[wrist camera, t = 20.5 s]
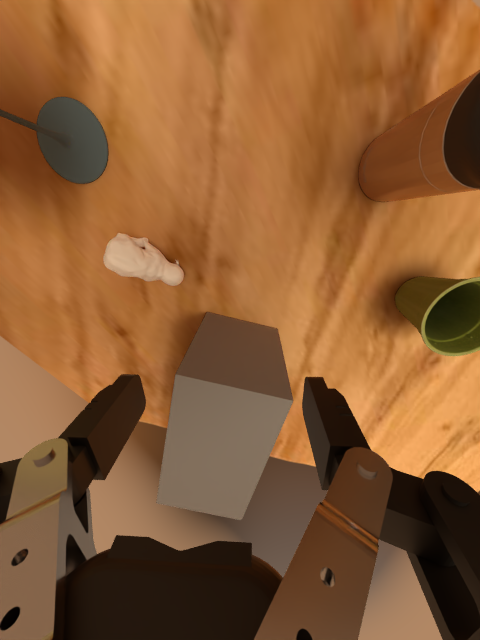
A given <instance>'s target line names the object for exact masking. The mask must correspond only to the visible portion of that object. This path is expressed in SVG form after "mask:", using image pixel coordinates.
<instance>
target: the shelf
mask: <svg viewBox="0 0 480 640" xmlns="http://www.w3.org/2000/svg"><path fill="white" fill-rule="evenodd" d="M292 403H293V397H292V393H291V388H290V383H289V379H288V374H287V370H286V365H285V360H284V356H283V351H282V346H281V342H280V337H279V333H278V329H276V328H272V327H268V326H264V325H260V324H256V323H251V322H247V321H243V320H239V319H235V318H231V317H226V316H222V315H218V314H214V313H210V312H207V313H206V315H205V317H204V319H203V321H202V323H201V325H200V327H199V329H198V331H197V333H196V335H195V337H194V339H193V341H192V342H191V344H190V346H189V348H188V350H187V352H186V354H185V356H184V358H183V360H182V362H181V364H180V366H179V368H178V370H177V372H176V374H175V381H174V388H173V394H172V401H171V408H170V415H169V421H168V428H167V435H166V441H165V448H164V456H163V462H162V469H161V475H160V482H159V488H158V495H157V502H156V503H158V504H163V505H168V506H173V507H178V508H184V509H188V510H193V511H198V512H203V513H208V514H213V515H218V516H223V517H228V518H233V519H238V520H242V517H243V515H244V513H245V511H246V508H247V506H248V504H249V501H250V499H251V497H252V495H253V492H254V490H255V487H256V485H257V483H258V481H259V479H260V476H261V474H262V472H263V469H264V467H265V465H266V462H267V460H268V458H269V456H270V453H271V451H272V449H273V446H274V444H275V442H276V439H277V437H278V435H279V433H280V430H281V428H282V426H283V423H284V421H285V419H286V417H287V414H288V412H289V410H290V407H291V405H292Z"/></svg>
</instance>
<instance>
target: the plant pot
mask: <svg viewBox="0 0 480 640" xmlns="http://www.w3.org/2000/svg"><path fill="white" fill-rule="evenodd" d="M395 303H396V307H397V309H398V310H399V311H400V312H401V313H402V314H403V315H404V316H405V317H406V318H407V319H408V320H409V321H410V322H411V323H412V324H413V325H414V326H415V327H416V328H417V329H418V331H419V333H420V334H421V336H422V339H423V341H424V343H425V344H426V345H427V347H428V348H429V349H431V350H432V351H434V352H436V353H438V354H441V355H445V356H462V355H467V354H470V353H474V352H476V351H479V350H480V277H475V278H470V279H446V278H434V277H416V278H413V279H411V280H408V281H406V282H405V283H404V284H403V285H402V286H401V287H400V288H399V289H398V291H397V293H396V296H395Z"/></svg>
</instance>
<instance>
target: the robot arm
mask: <svg viewBox="0 0 480 640" xmlns="http://www.w3.org/2000/svg"><path fill="white" fill-rule="evenodd" d="M358 177H359V184H360V186H361V189H362V191H363V192H364V193H365V195H366V196H368V197H369V198H370V199H372V200H374V201H379V202H389V201H396V200H405V199H413V198H420V197H428V196H435V195H443V194H450V193H458V192H465V191H472V190H480V70H479V71H477V72H475V73H474V74H472V75H471V76H469V77H468V78H466V79H465V80H463V81H462V82H460V83H459V84H457V85H456V86H455V87H453V88H451V89H450V90H448V91H447V92H445V93H444V94H442V95H441V96H439V97H438V98H436V99H435V100H433V101H432V102H430V103H429V104H427V105H426V106H424V107H423V108H421V109H419V110H418V111H416V112H415V113H413V114H412V115H410V116H409V117H407V118H406V119H404V120H403V121H401V122H400V123H398V124H397V125H395V126H393V127H392V128H390V129H389V130H387V131H386V132H384V133H383V134H381V135H380V136H379V137H377V138H376V139H375V140H374V141H373V142H372V143H371V144H370V145H369V146H368V148H367V150H366V151H365V153H364V155H363V157H362V159H361V162H360V166H359V175H358ZM145 405H146V399H145V395H144V391H143V387H142V383H141V379H140V376H139V375H128V374H123V375H120V376H119V377H118V379H117V380H116V381H115V382H114V383H113V384H112V385H109V386H107V387H106V388H104V389H103V390H101V391H100V392H99V393H98V394H97V395H96V396H95V397H94V398H93V399H92V401H91V403H89V404H88V405H87V406H86V407H85V410H83V411H82V412H81V413H80V414H79V415H78V416H77V417H76V418H75V420H74V421H73V422H72V423H71V424H70V425H69V426H68V427H67V429H66V430H65V431H64V432H63V433H62V434H61V435H60V436H59V438H56V439H51V440H48V441H45V442H43V443H41V444H39V445H37V446H36V447H34V448H33V449H31V450H30V451H29V452H28V453H27V454H26V455H25V456H24V457H23V458H21V459H16V460H12V461H8V462H4V463H0V640H358V637H359V632H360V628H361V623H362V619H363V615H364V610H365V606H366V602H367V597H368V593H369V589H370V584H371V580H372V576H373V571H374V567H375V563H376V558H377V553H378V547H379V546H378V540H379V539H380V540H382V541H384V542H387V543H389V544H392V545H394V546H396V547H399V548H401V549H403V550H406V551H407V554H408V556H409V559H410V561H411V564H412V566H413V568H414V571H415V573H416V576H417V578H418V581H419V583H420V585H421V588H422V590H423V593H424V595H425V597H426V600H427V602H428V605H429V607H430V610H431V612H432V614H433V617H434V619H435V622H436V624H437V627H438V629H439V632H440V634H441V636H442V639H443V640H480V495H479V494H478V493H477V492H476V491H475V490H474V489H473V488H472V487H470V486H469V485H468V484H467V483H465V482H464V481H462V480H461V479H459V478H457V477H455V476H453V475H451V474H449V473H445V472H441V471H431V472H429V473H427V474H426V475H425V477H424V479H422V478H419V477H415V476H412V475H409V474H406V473H403V472H400V471H397V470H395V469H393V468H391V467H389V465H388V464H387V463H386V461H385V460H384V459H383V458H382V457H381V456H379V455H378V454H377V453H375V452H373V451H371V449H370V447H369V445H368V443H367V441H366V439H365V437H364V435H363V433H362V431H361V429H360V427H359V425H358V423H357V421H356V419H355V417H354V416H353V414H352V412H351V410H350V408H349V406H348V404H347V402H346V400H345V398H344V396H343V395H342V394H340V393H339V392H338V391H337V390H336V389H328V388H327V386H326V383H325V381H324V379H323V377H306V378H305V383H304V392H303V402H302V408H303V416H304V420H305V424H306V428H307V432H308V436H309V440H310V444H311V448H312V452H313V456H314V460H315V464H316V468H317V471H318V476H319V480H320V483H321V487H322V490H328V491H327V494H326V496H325V498H324V500H323V502H322V503H321V502H320V503H319V504H318V506H317V508H316V510H315V512H314V514H313V516H312V518H311V520H310V522H309V524H308V526H307V529H306V531H305V533H304V535H303V537H302V539H301V541H300V543H299V545H298V548H297V550H296V552H295V554H294V556H293V558H292V560H291V562H290V564H289V566H288V569H287V571H286V573H285V575H284V577H282V576H281V575H280V574H279V573H278V572H277V571H276V570H275V569H274V568H273V567H271V566H270V565H269V564H268V563H266V562H265V561H263V560H262V559H260V558H258V557H256V556H254V555H252V543H245V542H243V543H242V542H227V541H216V542H212V543H208V544H205V545H202V546H198V547H194V548H190V549H188V550H183V551H178V550H176V549H174V548H171V547H169V546H167V545H165V544H162V543H160V542H158V541H156V540H154V539H151V538H149V537H137V536H136V537H135V536H118V535H117V536H116V537H115V540H114V542H113V545H112V547H111V549H108V550H106V551H103V552H101V553H99V554H97V553H96V550H95V546H94V541H93V531H92V517H91V502H90V491H89V488H88V487H89V485H90V483H91V482H92V480H93V479H94V480H105V479H106V477H107V475H108V473H109V472H110V470H111V468H112V466H113V465H114V463H115V461H116V459H117V458H118V456H119V454H120V452H121V451H122V449H123V447H124V445H125V444H126V442H127V440H128V438H129V436H130V435H131V433H132V431H133V430H134V428H135V426H136V424H137V423H138V421H139V419H140V417H141V416H142V414H143V412H144V409H145Z"/></svg>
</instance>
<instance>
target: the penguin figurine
mask: <svg viewBox="0 0 480 640" xmlns="http://www.w3.org/2000/svg"><path fill="white" fill-rule="evenodd" d="M144 246H145V249H142V247H144ZM103 260H104V264H105V266H106V267H107V268H108V269H110V270H112V271H114V272H116V273H117V274H118V275H121V276H125V277H139V278H140V279H143V280H145V281H155V280H162V281H163V282H164V283H166V284H167V285H172V286H176V285H178V284H180V283H181V282H182V281H183V279H184V273H183V270H182V269H181V268H180V267H179V262H178V261H176V263H177V265H176V264H173V263H170V262H168V261H167V260H166V258H165V257H164V255H163V254H162V253H161V252H160V251H159V250H158V249H157V248H155V247H154V246H153V245H151V244H150V243H149V242H148V238H145V237H143V238H134V237H130V236H129V235H127V234H121V233H118V234H117V236H116V237H114V238H113V239H111V240H110V241H109V242H108V244H107V247H106V251H105V254H104V257H103ZM174 262H175V261H174Z"/></svg>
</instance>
